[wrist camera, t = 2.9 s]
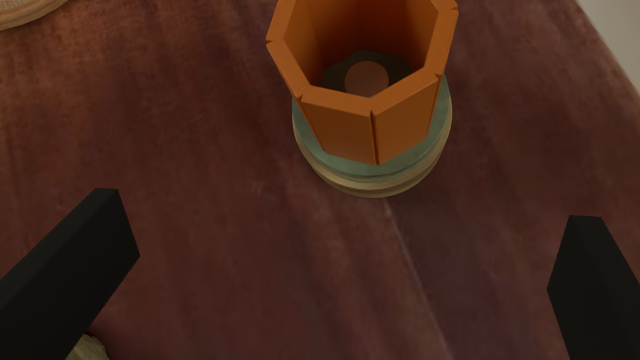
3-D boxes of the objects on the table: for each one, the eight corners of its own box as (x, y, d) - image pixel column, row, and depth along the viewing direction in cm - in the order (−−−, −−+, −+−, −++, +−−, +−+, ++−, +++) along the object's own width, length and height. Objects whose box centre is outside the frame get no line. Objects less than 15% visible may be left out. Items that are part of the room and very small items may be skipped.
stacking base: (476, 151, 30) (502, 109, 23) (344, 225, 30) (329, 208, 23) (398, 36, 33) (399, -34, 25) (277, 105, 33) (245, 55, 26)
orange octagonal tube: (461, 119, 26) (491, 49, 18) (343, 186, 26) (323, 145, 18) (392, 18, 28) (392, -85, 20) (283, 80, 28) (241, 3, 20)
